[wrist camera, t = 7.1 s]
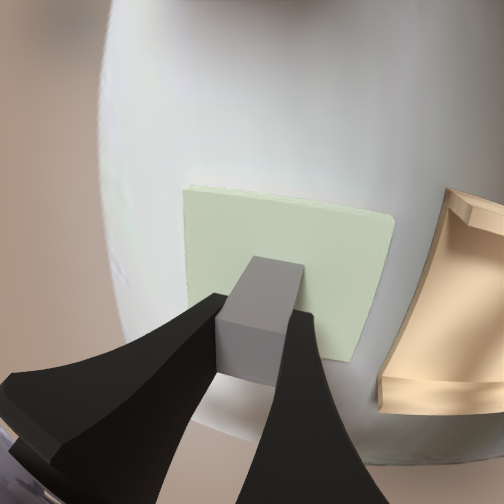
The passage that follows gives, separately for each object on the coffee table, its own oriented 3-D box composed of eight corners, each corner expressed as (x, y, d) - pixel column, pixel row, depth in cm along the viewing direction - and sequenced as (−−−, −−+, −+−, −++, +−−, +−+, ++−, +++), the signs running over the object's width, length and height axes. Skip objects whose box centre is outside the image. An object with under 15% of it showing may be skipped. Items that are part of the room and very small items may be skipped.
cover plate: (391, 215, 10) (423, 280, 6) (350, 350, 13) (344, 433, 9) (192, 184, 12) (117, 225, 7) (197, 318, 15) (151, 383, 11)
